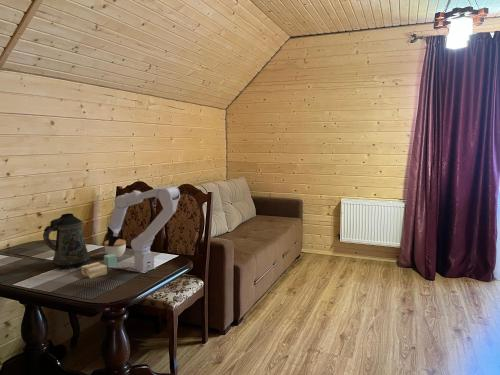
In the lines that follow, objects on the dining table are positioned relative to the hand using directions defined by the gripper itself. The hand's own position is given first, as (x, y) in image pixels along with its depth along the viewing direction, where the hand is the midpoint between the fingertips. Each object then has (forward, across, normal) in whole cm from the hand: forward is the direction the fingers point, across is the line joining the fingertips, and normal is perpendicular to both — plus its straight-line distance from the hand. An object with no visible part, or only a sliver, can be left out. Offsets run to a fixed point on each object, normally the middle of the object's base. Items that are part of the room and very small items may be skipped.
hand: (109, 242), depth 194 cm
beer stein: (+17, -1, -14) cm, 22 cm away
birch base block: (+9, +15, -5) cm, 19 cm away
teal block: (+9, +6, +3) cm, 11 cm away
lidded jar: (+12, -8, +7) cm, 16 cm away
